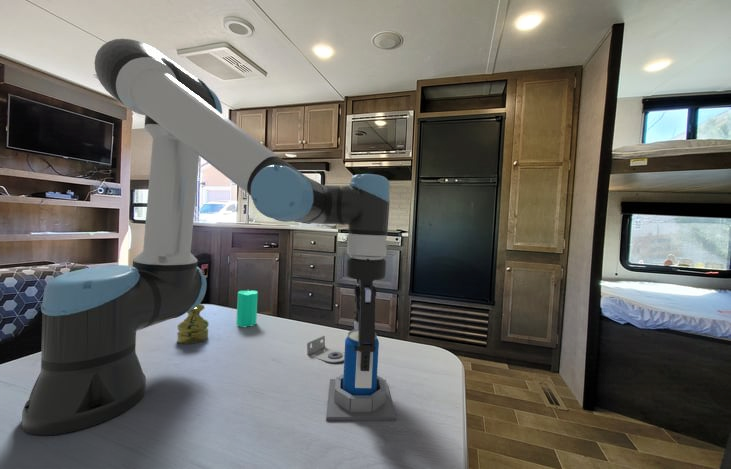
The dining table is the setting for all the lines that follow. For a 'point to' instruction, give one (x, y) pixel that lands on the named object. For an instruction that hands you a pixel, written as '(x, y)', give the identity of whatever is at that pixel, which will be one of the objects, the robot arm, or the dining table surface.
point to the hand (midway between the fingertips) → (360, 367)
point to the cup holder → (359, 403)
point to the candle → (247, 308)
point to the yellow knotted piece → (193, 327)
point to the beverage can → (350, 366)
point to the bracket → (326, 356)
